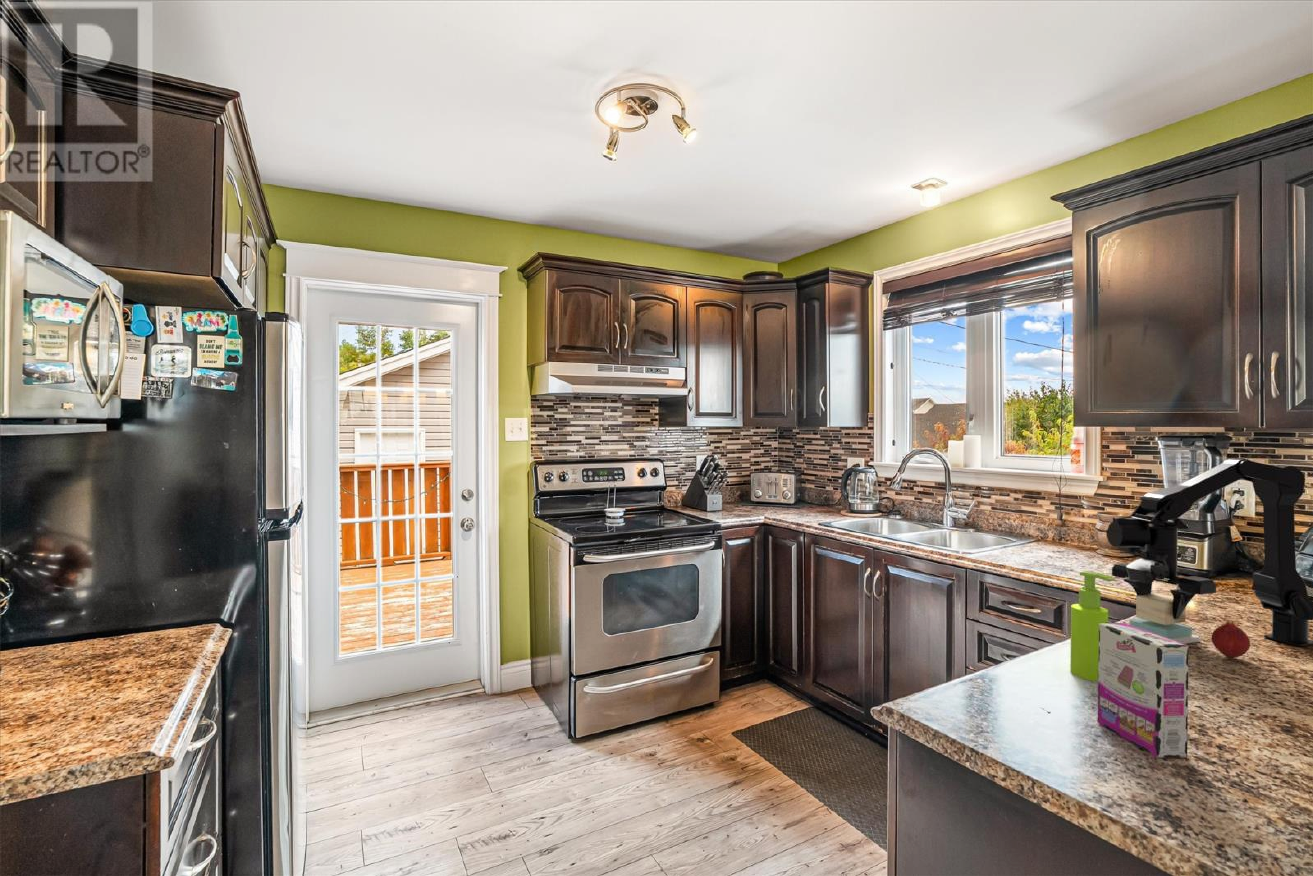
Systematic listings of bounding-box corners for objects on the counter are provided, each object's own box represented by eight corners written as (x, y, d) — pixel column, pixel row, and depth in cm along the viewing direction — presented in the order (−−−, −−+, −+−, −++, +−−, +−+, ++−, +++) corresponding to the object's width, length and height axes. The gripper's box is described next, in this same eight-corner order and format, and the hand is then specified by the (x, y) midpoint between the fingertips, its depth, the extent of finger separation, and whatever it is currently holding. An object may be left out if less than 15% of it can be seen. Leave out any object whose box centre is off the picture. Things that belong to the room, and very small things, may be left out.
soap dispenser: (1103, 685, 113) (1104, 578, 113) (1063, 672, 119) (1065, 570, 119) (1120, 680, 115) (1121, 575, 115) (1080, 667, 122) (1081, 567, 121)
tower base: (1151, 627, 147) (1151, 615, 147) (1199, 641, 137) (1199, 628, 137) (1122, 631, 144) (1122, 619, 144) (1169, 646, 134) (1169, 632, 134)
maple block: (1156, 614, 144) (1156, 593, 144) (1185, 621, 139) (1185, 599, 139) (1136, 617, 142) (1136, 595, 142) (1165, 625, 136) (1165, 602, 136)
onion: (1257, 665, 123) (1257, 625, 123) (1224, 662, 124) (1224, 623, 124) (1236, 654, 129) (1236, 617, 129) (1204, 652, 130) (1205, 615, 130)
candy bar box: (1190, 758, 88) (1191, 645, 87) (1158, 760, 87) (1159, 646, 87) (1124, 722, 99) (1125, 621, 99) (1095, 723, 98) (1096, 622, 98)
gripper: (1095, 542, 147) (1094, 607, 147) (1183, 557, 129) (1182, 631, 129) (1128, 540, 150) (1127, 603, 150) (1218, 554, 132) (1217, 626, 132)
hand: (1160, 615), depth 140 cm, fingers closed on maple block, 6 cm apart
